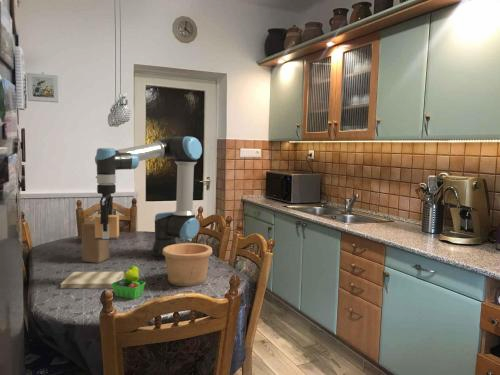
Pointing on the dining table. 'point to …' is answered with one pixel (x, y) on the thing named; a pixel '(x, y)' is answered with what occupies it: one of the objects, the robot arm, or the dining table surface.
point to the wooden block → (93, 244)
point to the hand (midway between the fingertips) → (107, 236)
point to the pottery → (187, 263)
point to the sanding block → (113, 227)
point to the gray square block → (59, 280)
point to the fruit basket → (129, 284)
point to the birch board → (92, 279)
